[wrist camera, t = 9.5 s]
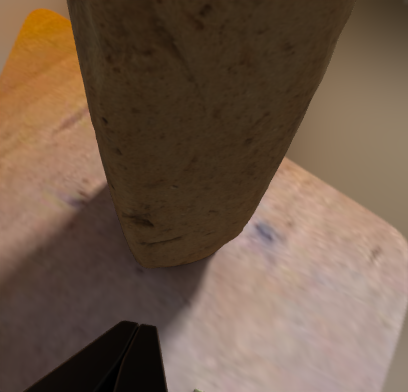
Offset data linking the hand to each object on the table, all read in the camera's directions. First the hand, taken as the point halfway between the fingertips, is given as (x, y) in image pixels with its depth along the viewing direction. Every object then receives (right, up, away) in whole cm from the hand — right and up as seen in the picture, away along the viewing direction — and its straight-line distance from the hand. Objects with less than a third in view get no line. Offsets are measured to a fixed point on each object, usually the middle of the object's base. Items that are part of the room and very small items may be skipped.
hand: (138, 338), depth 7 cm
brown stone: (-1, +3, +16) cm, 17 cm away
